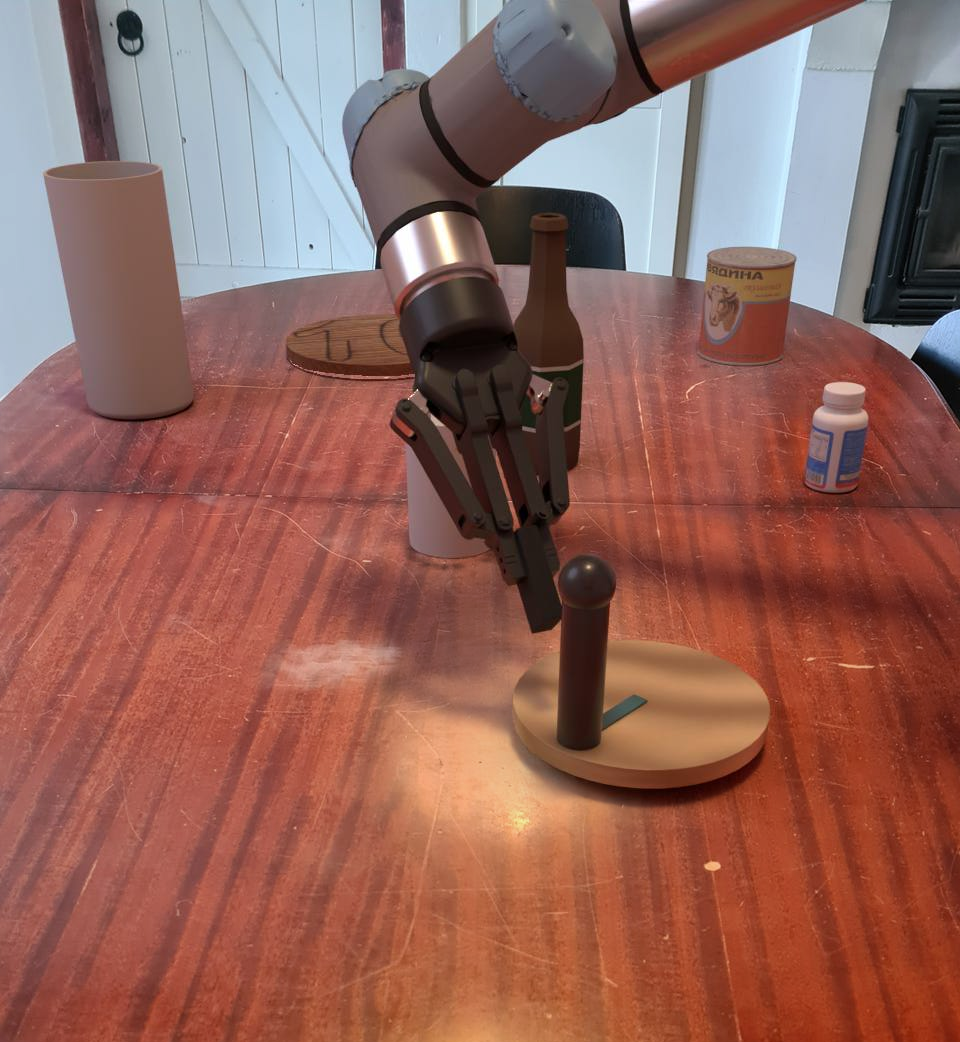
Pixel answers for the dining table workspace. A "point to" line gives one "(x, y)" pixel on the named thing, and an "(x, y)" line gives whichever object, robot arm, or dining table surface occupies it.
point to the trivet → (351, 347)
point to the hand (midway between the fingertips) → (548, 624)
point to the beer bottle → (551, 331)
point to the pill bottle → (837, 439)
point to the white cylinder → (435, 509)
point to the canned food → (746, 305)
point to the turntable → (633, 699)
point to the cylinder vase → (121, 286)
